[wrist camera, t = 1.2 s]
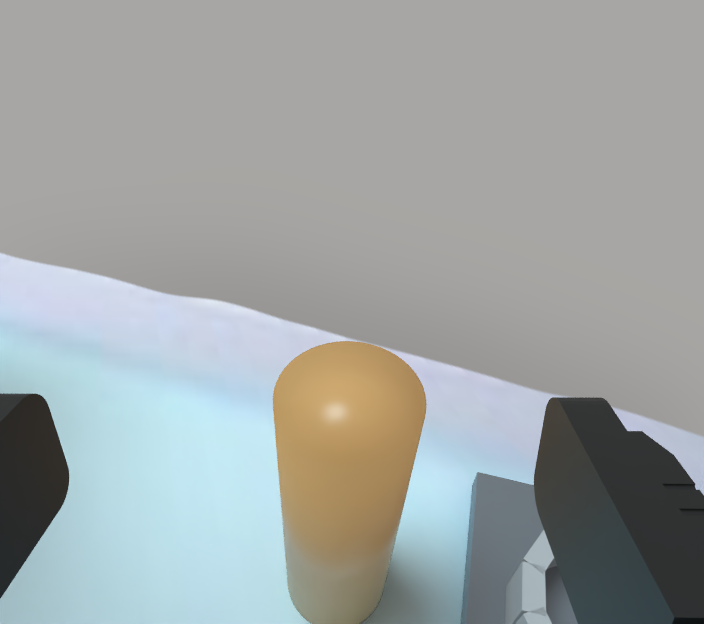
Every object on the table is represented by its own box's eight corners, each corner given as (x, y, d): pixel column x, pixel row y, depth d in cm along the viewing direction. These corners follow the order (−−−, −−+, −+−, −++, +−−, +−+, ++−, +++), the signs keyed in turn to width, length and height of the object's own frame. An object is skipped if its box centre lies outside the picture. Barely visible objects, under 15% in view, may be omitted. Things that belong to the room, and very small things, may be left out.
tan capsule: (268, 570, 28) (242, 388, 18) (341, 511, 31) (356, 321, 20) (330, 654, 25) (341, 497, 15) (404, 581, 28) (458, 405, 18)
